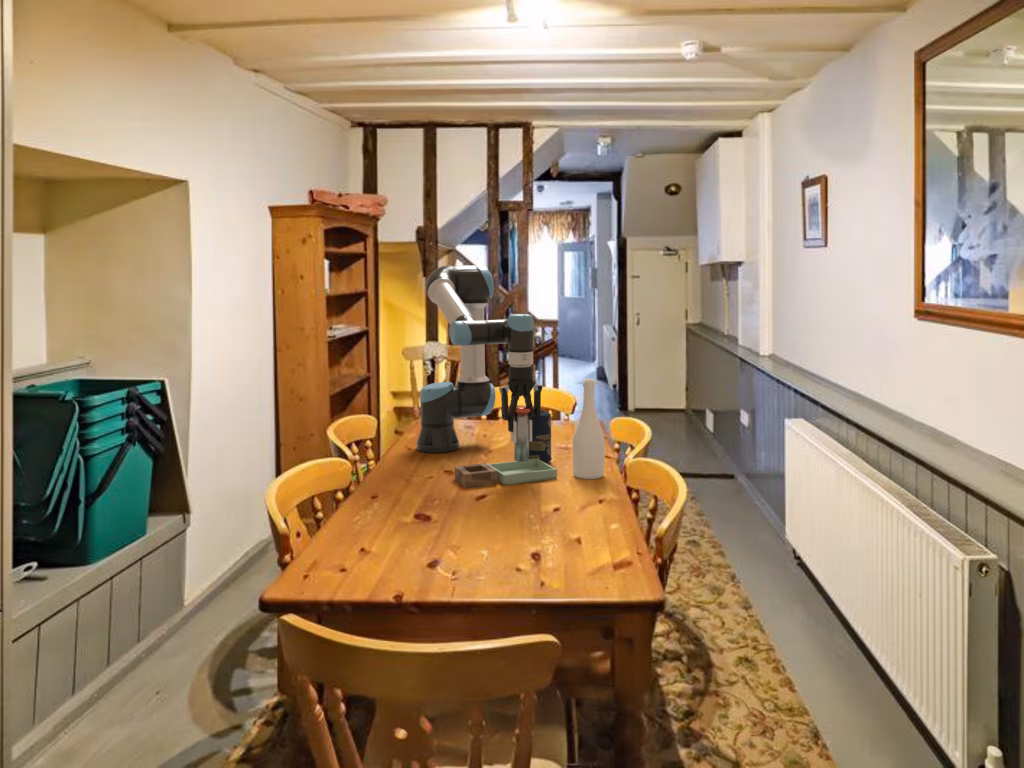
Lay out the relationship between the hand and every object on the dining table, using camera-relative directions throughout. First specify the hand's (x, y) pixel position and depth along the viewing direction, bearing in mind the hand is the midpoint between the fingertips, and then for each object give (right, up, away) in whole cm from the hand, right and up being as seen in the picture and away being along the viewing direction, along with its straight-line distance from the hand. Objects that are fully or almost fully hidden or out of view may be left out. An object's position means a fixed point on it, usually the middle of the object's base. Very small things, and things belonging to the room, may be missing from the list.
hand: (521, 441), depth 228 cm
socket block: (-14, -12, -4) cm, 19 cm away
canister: (+5, -9, +18) cm, 21 cm away
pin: (0, -6, +1) cm, 6 cm away
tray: (0, -11, +2) cm, 11 cm away
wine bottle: (+21, -11, +2) cm, 23 cm away
